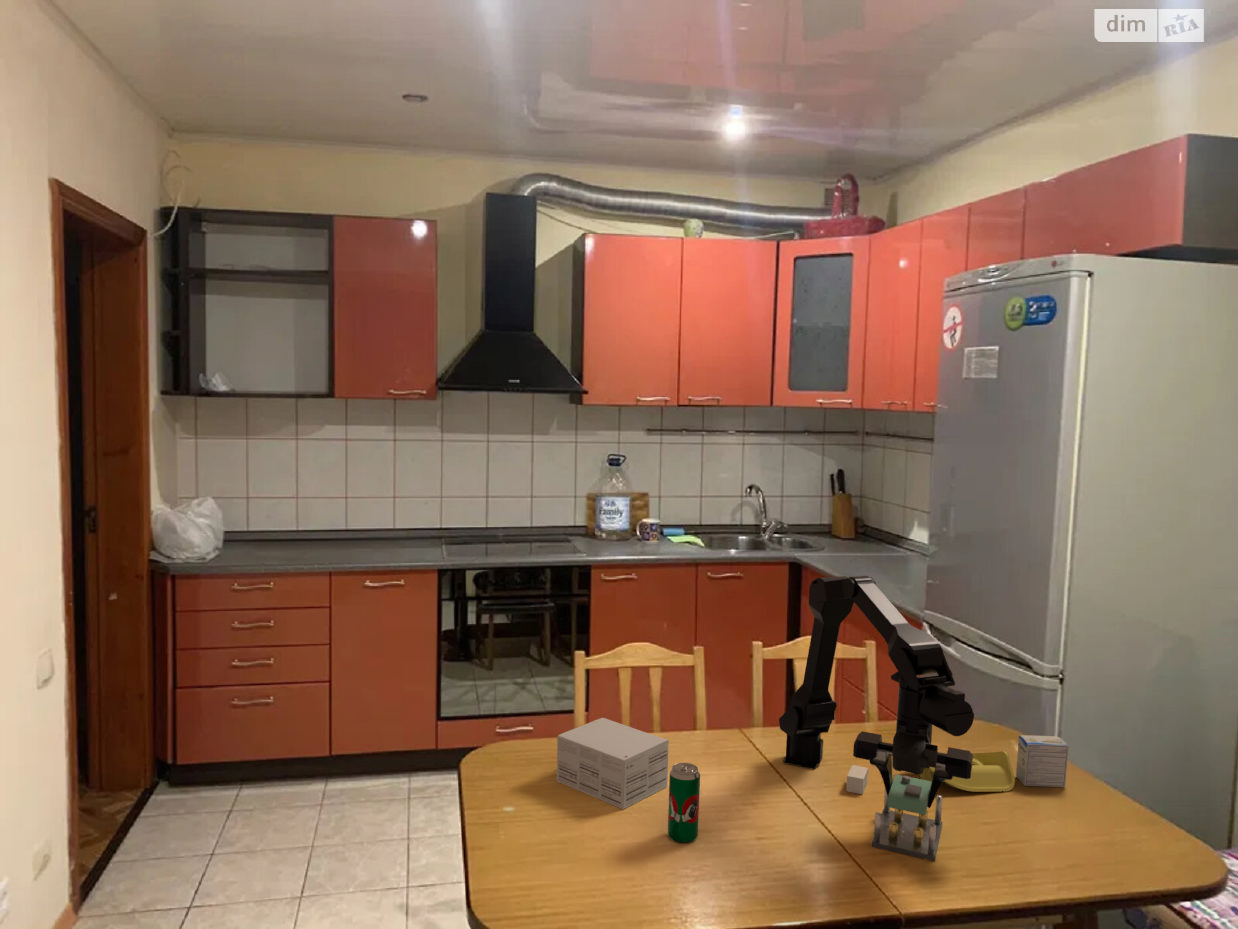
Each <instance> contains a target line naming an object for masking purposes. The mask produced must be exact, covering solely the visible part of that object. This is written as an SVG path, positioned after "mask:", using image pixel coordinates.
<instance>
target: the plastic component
mask: <svg viewBox="0 0 1238 929" xmlns="http://www.w3.org/2000/svg"><path fill="white" fill-rule="evenodd" d="M945 753H946V754H947V752H945ZM971 753H972V752H971ZM972 755H973V762H972V771H971V778H970V779H964V778H959V777H953V779H952V780H947V779H946V780H945V781H944V782H943V783H945V784H947V785H949V786H951V787H952V788H955V789H959V790H961V791H966V792H972V793H975V792H976V793H982V792H983V793H985V792H988V793H989V792H990V793H991V792H995V793H997V792H1002V791H1003V792H1010V791H1012V789H1014V786H1015V783H1016V780H1015V775H1014V770H1013V767H1012V766H1013V765H1012V763H1011V758H1010V755H1009V754H1008V752H1006V751H1003V750H1002V751H992V752H991V751H990V752H979V753H976V752H975V753H974V752H973V753H972ZM934 771H935V768H934V767H930V768H924V770H923V773H922V774H920V775H919V779H922V780H927V781H932V780H933V775H934Z"/></svg>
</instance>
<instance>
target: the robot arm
mask: <svg viewBox="0 0 1238 929" xmlns="http://www.w3.org/2000/svg"><path fill="white" fill-rule="evenodd" d="M808 591H809V592H808V606H809V609H810V611H811V613H812V616H813V624H812V631H811V635H810V642H809V648H808V653H807V658H806V663H805V664H806V665H805V670H804V676H803V681H802V684H801V685H800V686H799V687H798V688H797V690H796V691H795V692H794V693H793V695H792V696H791V700H790V703H789V705H788V709H787V710H785V712H784V713H783V714H782V715H781V716H780V717H779V718H778V722H779V723H778V724H779V729H780V730H781V731H782V732H784V733H785V734H786V741H785V742H786V745H785V746H786V747H785V757H784V758H783V761H782V762H783V763H784V764H788V765H792V766H797V767H801V768H808V769H812V770H816V769H817V766H818V765H819V764H820V763H821V762H822V760H823V756H824V755H823V753H824V739H823V738H821V736H822V733H825V734H826V733H827V734H828V733H829V730H830V727H831V724H832V723H833V721H835V718H836V717H835V716H836V715H835V714H836V709H837V702H836V701H835V700H833V697H832V696H831V693H830V691H829V690H830V689H829V687H830V682H831V676H832V672H833V671H832V670H833V666H834V660H835V655H836V649H837V645H838V639H839V638H838V637H839V634H840V629H841V628H840V627H841V624H842V623H843V621H845V619H846V618H847V617H848V616H849V615H850V613H851V612H852V610H853V606H854V604H855V605H856V607H857V608H858V609H859V610H860V611H861V612H862V614H863V616H865V617H866V619H867V620H868V621H869V622H870V624H871V625H872V626H873V627H874V628H875V630H876V631H877V632H878V633H879V634H880V636H881V637H882V638H883V639H884V641H885V642H886V644H887V653H888V654H887V656H888V657H889V658H890V660H891V662H892V664H893V665H894V667H895V668H896V670H897V672H895V673H892V674H891V675H890V679H891V680H892V681H894V682H895V683H898V694H897V710H896V711H897V712H896V723H895V724H896V725H895V726H896V728H895V734H894V736H893V739H892V740H893V741H892V743H891V742H886V741H883V736H882V734H879V733H873V732H868V731H861V732H859V733H858V734H857V736H856V738H855V741H854V743H853V753H852V756H853V757H855V758H856V759H857V758H858V759H861V760H866V761H869V764H870V765H872V766H875V767H876V768H877V769H878V772H879V773H880V776H881V778H882V782H883V785H884V790H885V789H886V792H887V796H888V795H889V792H890V789H891V786H892V783H893V770H894V771H897V772H906V773H912V774H913V775H916V776H918V775H919V776H920V774H922V773H923V770H924V768H930V767H934V768H935V771H934V775H933V780H932V784H931V789H930V793H929V798H928V807H927V809H931V808H932V804H933V803H934V800H935V799H936V796H937V795H938V791H939V789H940V788H941V786H942V785H943V783H945V782H944V781H945V780H946V779H947V780H952V779H953V777H959V778H964V779H970V778H971V771H972V762H973V755H972V752H971V751H970V750H967V749H961V748H955V747H952V746H948V747H947V751H946V752H939V749H938V747H939V746H938V745H937V744H932V741H933V740H932V737H933V735H932V734H933V726H934V727H935V728H938V729H939V730H940V731H941V730H942V731H943V732H945V733H947V734H949V735H951V736H954V737H961V736H963V735H965V734H966V733H967V732H968V731H969V730H970V729H971V727H972V726H973V723H974V721H975V720H974V719H975V712H973V710H974V709H973V708H972V705H971V703H969V702H968V701H966V700H965V699H966V694H965V692H962V691H960V690H955V689H953V688H951V687H954V686H956V681H955V680H954V679H955V678H954V676H953V672H952V670H951V669H950V667H949V665H948V664H949V663H948V662H947V661H948V660H947V659H946V656H945V653H944V650H943V648H942V646H941V645H940V643H939V642H938V641H937V640H936V639H934V638H933V637H932V636H931V635H930V634H928V633H927V632H926V631H923V630H921V629H919V628H917V627H915V626H913V625H912V624H910V623H909V622H908V621H907V620H906V618H905V617H904V616H903V615H902V614H901V612H900V611H898V609H897V608H896V606H894V605H893V604H892V602H891V601H890V600H889V599H888V597H887V596H886V595H885V594H884V593H883V592H882V591H881V590H880V588H879V586H877V582H876V581H875V579H874V578H873V577H872V576H869V575H858V576H857V575H855V576H854V575H853V576H846V575H844V576H841V575H840V576H829V577H816V578H815V579H814V580H812V581H811V582H810V585H809V589H808ZM931 674H937V675H933V676H924V677H923V675H931ZM946 753H947V754H946Z"/></svg>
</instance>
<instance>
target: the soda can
mask: <svg viewBox="0 0 1238 929" xmlns="http://www.w3.org/2000/svg"><path fill="white" fill-rule="evenodd" d="M668 780H669V784H668V787H669V788H668V811H667V812H668V814H667V816H668V817H667V836H668V837H669V838H670V839H671V840H672V841H674V842H675V843H678V844H690V843H693V842H694V841H695V840H696V839H697V838H698V836H699V820H700V819H699V817H700V816H699V815H700V792H701V791H700V786H701V774H700V771H699V768H698V766H697V765H696V764H693V763H691V762H690V763H689V762H678V763H675V764H673V765H672V767H671V770H670V771H669V779H668Z"/></svg>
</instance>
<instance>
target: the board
mask: <svg viewBox="0 0 1238 929" xmlns="http://www.w3.org/2000/svg"><path fill="white" fill-rule="evenodd" d="M931 784H932V781H927V780H922V779H920V778H916V777H911V776H908V775H900V774H895V775H894V777H893V779H892V786H891V789H890V792H889V795H888V807H890V809H894V810H895V809H900V810H903V812H904V811H905V812H910V813H915V814H917V815H919V814H923V815H926V811H928V798H929V793H930V789H931Z"/></svg>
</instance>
